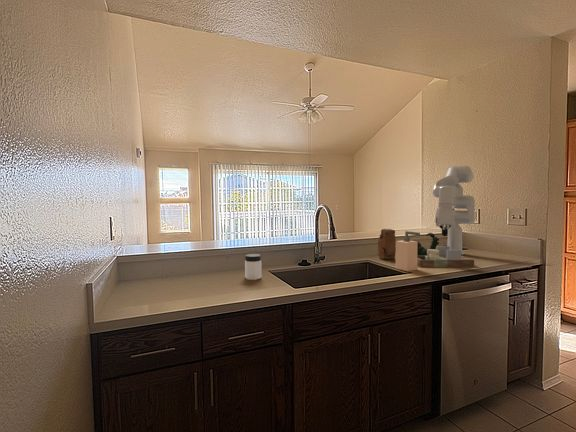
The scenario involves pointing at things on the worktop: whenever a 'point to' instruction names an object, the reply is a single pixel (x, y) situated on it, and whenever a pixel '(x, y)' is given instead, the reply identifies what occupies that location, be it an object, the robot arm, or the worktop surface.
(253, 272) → the jar
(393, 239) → the block
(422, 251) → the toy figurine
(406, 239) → the soap dispenser
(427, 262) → the walnut deck
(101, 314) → the worktop surface
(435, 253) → the birch cube
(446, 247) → the tunnel walls
